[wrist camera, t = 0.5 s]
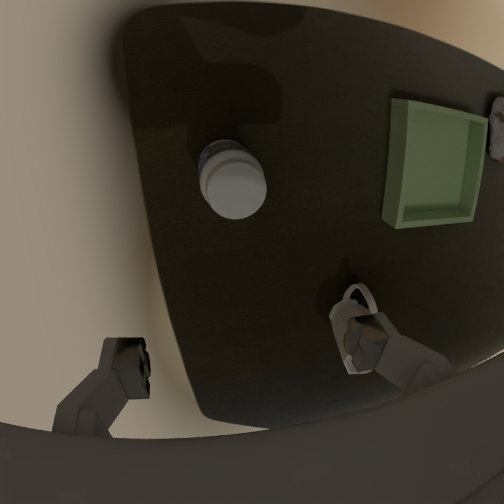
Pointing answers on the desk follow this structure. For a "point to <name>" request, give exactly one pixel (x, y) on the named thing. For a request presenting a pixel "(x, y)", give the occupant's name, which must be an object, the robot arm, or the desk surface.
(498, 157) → the stone
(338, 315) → the cup
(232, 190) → the pill bottle
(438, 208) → the sage tray
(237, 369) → the desk surface
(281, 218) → the desk surface
